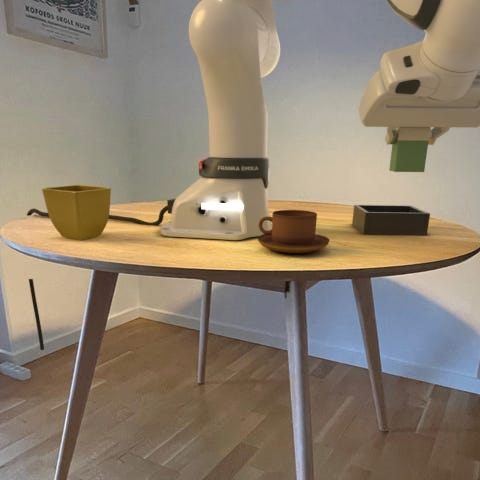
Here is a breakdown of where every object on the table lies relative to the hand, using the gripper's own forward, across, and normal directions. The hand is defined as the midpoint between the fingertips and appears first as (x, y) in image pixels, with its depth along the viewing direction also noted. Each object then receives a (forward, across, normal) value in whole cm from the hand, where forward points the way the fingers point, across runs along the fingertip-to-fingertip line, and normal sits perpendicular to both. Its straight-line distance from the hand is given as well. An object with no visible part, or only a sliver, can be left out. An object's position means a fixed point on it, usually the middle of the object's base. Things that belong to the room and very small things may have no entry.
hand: (408, 141), depth 80 cm
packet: (+3, 0, +4) cm, 5 cm away
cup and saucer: (+8, +20, +16) cm, 27 cm away
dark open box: (+22, -3, +3) cm, 22 cm away
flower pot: (+16, +58, +8) cm, 61 cm away
